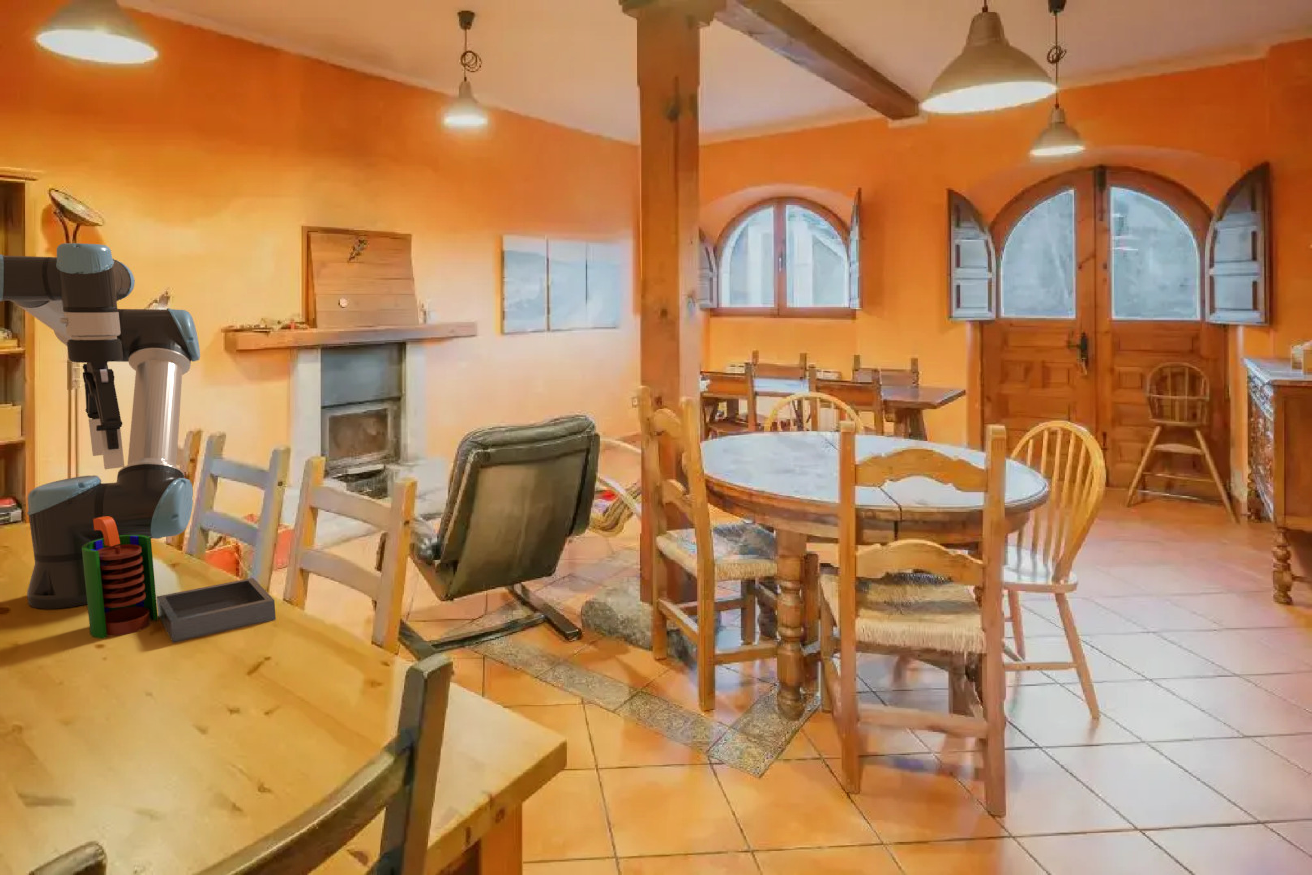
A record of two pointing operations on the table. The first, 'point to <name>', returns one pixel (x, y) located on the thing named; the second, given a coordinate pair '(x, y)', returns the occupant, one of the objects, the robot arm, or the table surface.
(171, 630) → the tray
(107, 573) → the motor
